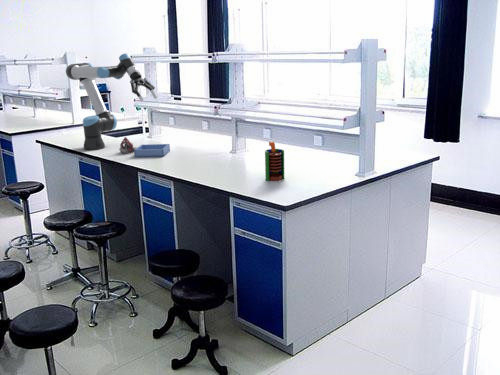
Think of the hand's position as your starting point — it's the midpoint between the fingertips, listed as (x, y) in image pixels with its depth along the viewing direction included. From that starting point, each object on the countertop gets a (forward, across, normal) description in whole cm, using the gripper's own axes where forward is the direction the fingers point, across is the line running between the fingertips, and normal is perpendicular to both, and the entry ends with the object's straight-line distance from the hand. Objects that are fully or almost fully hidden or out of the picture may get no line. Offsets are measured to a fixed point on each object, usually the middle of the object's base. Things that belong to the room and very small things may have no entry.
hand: (149, 99), depth 353 cm
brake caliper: (+22, -14, +31) cm, 41 cm away
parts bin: (+34, -11, +14) cm, 39 cm away
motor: (+99, -31, -74) cm, 127 cm away
